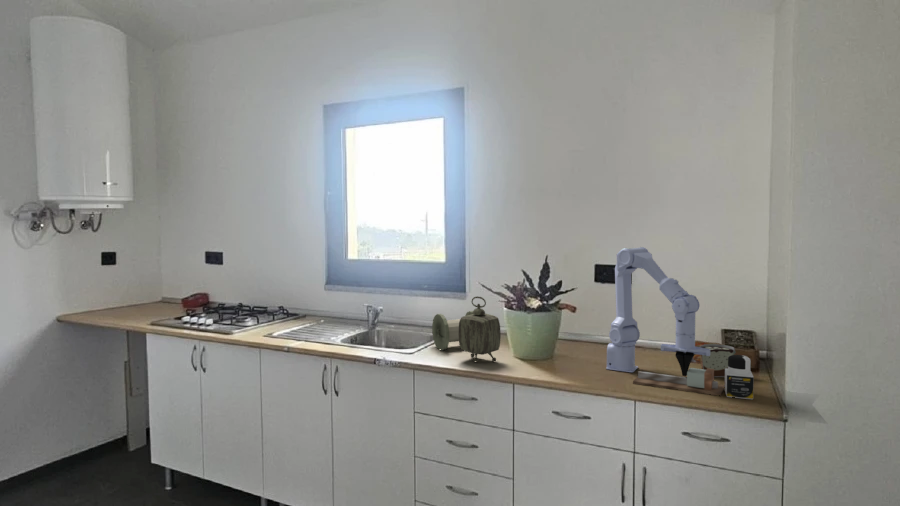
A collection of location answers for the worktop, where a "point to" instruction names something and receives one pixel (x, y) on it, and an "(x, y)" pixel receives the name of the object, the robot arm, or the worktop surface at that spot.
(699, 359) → the tin
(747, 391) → the medicine bottle
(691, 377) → the pale green block
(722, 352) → the food container
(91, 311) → the worktop surface
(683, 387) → the rail board
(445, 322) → the spool
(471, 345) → the tabletop clock
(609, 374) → the worktop surface
